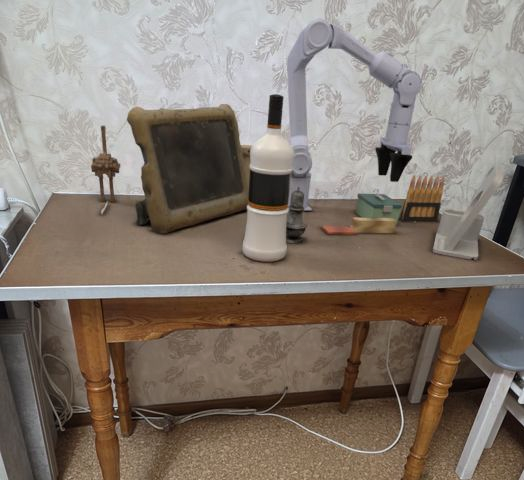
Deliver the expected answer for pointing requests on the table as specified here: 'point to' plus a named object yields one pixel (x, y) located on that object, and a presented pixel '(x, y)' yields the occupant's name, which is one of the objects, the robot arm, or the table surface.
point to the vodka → (269, 190)
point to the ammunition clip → (423, 200)
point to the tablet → (188, 165)
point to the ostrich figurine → (105, 168)
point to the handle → (246, 161)
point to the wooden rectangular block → (363, 226)
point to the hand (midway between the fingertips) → (388, 178)
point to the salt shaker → (295, 218)
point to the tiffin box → (377, 206)
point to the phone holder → (466, 222)
